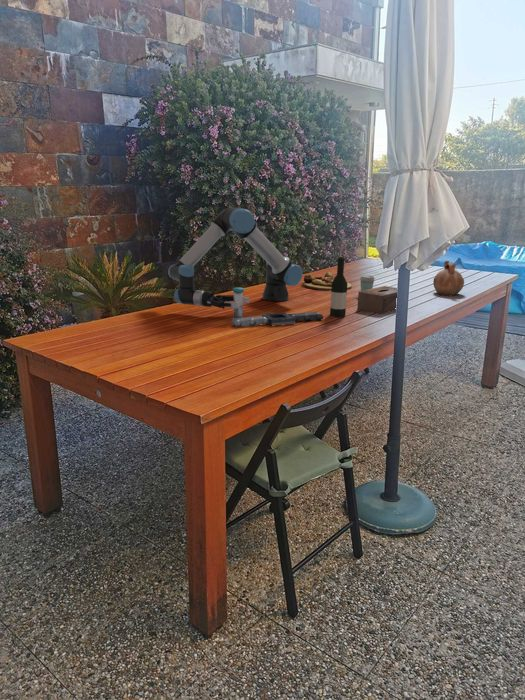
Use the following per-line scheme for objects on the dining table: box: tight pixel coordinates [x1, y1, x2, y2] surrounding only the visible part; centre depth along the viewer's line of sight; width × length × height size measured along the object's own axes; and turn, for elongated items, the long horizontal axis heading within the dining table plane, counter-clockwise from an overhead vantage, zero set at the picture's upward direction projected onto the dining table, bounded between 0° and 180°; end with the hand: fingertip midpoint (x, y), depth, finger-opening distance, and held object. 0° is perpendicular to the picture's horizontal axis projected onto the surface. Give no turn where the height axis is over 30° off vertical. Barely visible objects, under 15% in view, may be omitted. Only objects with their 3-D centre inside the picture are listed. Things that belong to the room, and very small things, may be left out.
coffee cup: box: [359, 274, 375, 291], centre depth 334 cm, size 8×9×12 cm
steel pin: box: [232, 286, 245, 318], centre depth 273 cm, size 5×5×15 cm
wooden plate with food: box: [301, 271, 353, 291], centre depth 364 cm, size 32×32×8 cm
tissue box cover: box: [356, 285, 398, 315], centre depth 304 cm, size 26×14×10 cm, turn 137°
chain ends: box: [230, 311, 324, 328], centre depth 270 cm, size 12×46×3 cm, turn 114°
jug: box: [432, 260, 465, 297], centre depth 346 cm, size 18×18×20 cm
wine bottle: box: [329, 255, 348, 318], centre depth 283 cm, size 8×8×30 cm
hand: (243, 302), depth 271 cm, fingers open, 13 cm apart
